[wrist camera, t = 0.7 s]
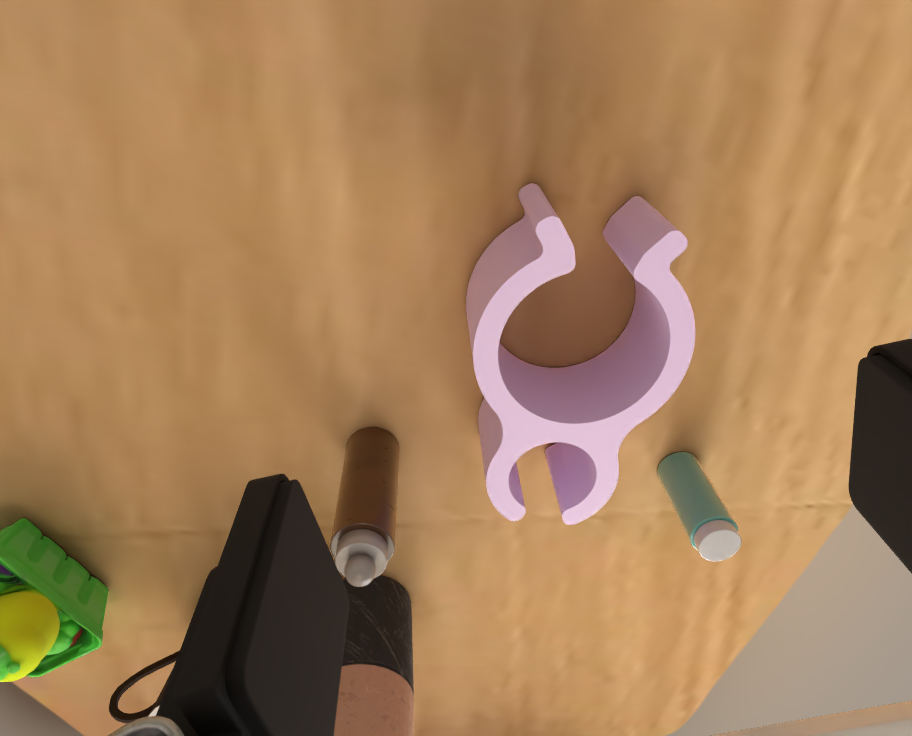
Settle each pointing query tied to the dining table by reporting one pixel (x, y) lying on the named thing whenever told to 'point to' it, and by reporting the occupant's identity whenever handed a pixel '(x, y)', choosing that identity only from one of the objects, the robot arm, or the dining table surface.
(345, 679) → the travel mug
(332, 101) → the dining table surface
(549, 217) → the clip
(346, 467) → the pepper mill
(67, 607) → the fruit basket
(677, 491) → the green cylinder
